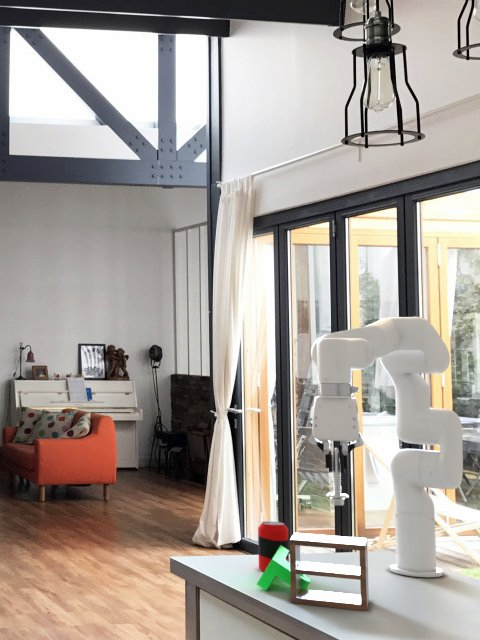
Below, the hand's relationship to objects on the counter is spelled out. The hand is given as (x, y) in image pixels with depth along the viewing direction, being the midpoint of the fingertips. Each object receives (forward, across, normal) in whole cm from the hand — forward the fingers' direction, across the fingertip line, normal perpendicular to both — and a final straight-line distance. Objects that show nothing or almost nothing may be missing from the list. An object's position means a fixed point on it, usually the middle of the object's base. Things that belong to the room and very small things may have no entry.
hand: (336, 471), depth 233 cm
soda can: (+29, +18, -29) cm, 45 cm away
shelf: (+29, +2, +1) cm, 29 cm away
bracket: (+29, +13, -14) cm, 35 cm away
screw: (+8, 0, 0) cm, 8 cm away
